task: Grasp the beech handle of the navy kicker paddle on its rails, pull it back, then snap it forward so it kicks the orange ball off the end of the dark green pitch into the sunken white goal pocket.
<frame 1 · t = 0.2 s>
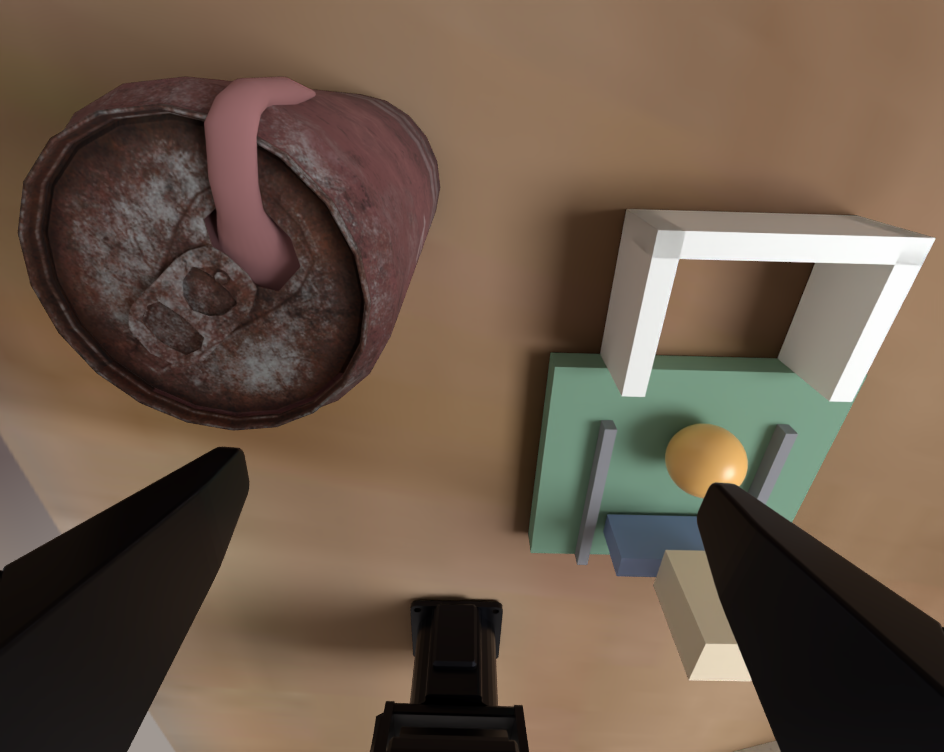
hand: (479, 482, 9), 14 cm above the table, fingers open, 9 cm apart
kicker: (692, 583, 24), point 6 cm above the table, slide at 2.0 cm
ball: (704, 460, 23), point 3 cm above the table, touching pitch
can: (369, 175, 20), on the table
pitch: (668, 456, 27), on the table
goal: (718, 289, 22), on the table
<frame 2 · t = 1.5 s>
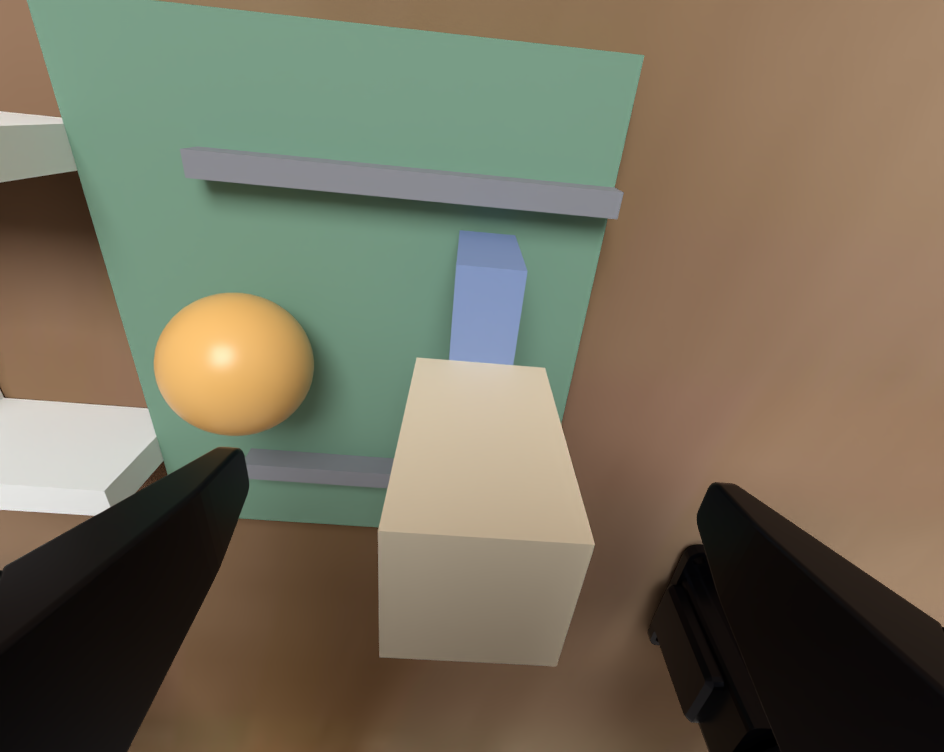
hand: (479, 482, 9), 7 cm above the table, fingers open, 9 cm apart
kicker: (475, 439, 10), point 6 cm above the table, slide at 2.0 cm
ball: (239, 364, 12), point 3 cm above the table, touching pitch
pitch: (364, 321, 15), on the table
goal: (37, 294, 14), on the table
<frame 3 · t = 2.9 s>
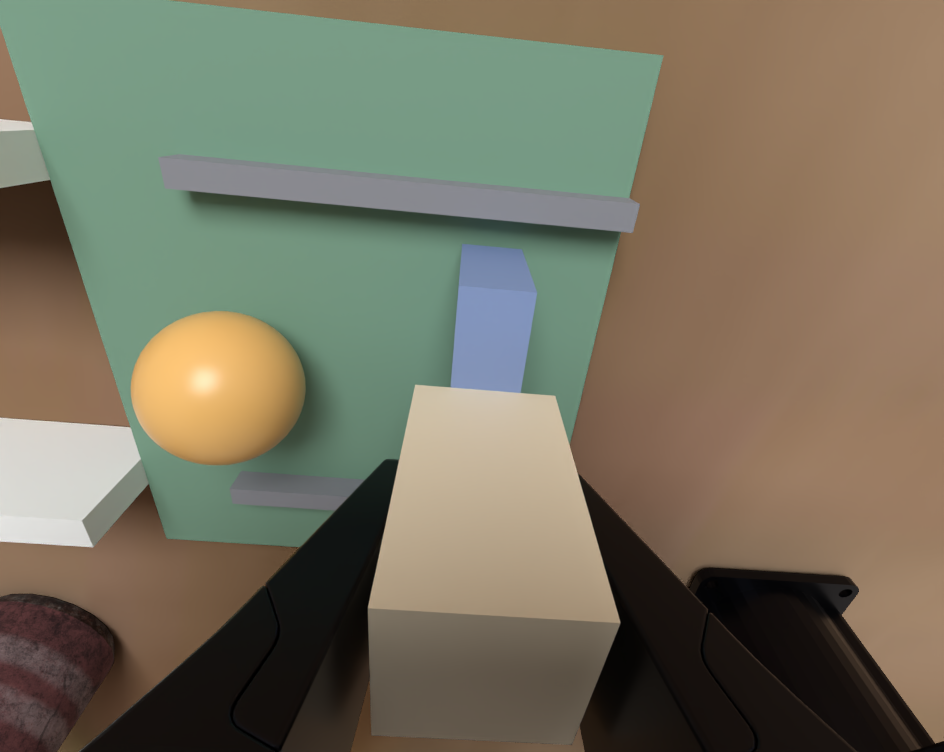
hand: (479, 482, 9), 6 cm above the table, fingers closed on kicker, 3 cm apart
kicker: (479, 474, 9), point 6 cm above the table, slide at 2.0 cm, touching gripper
ball: (224, 387, 11), point 3 cm above the table, touching pitch
can: (50, 627, 21), on the table
pitch: (360, 337, 14), on the table
goal: (13, 309, 14), on the table
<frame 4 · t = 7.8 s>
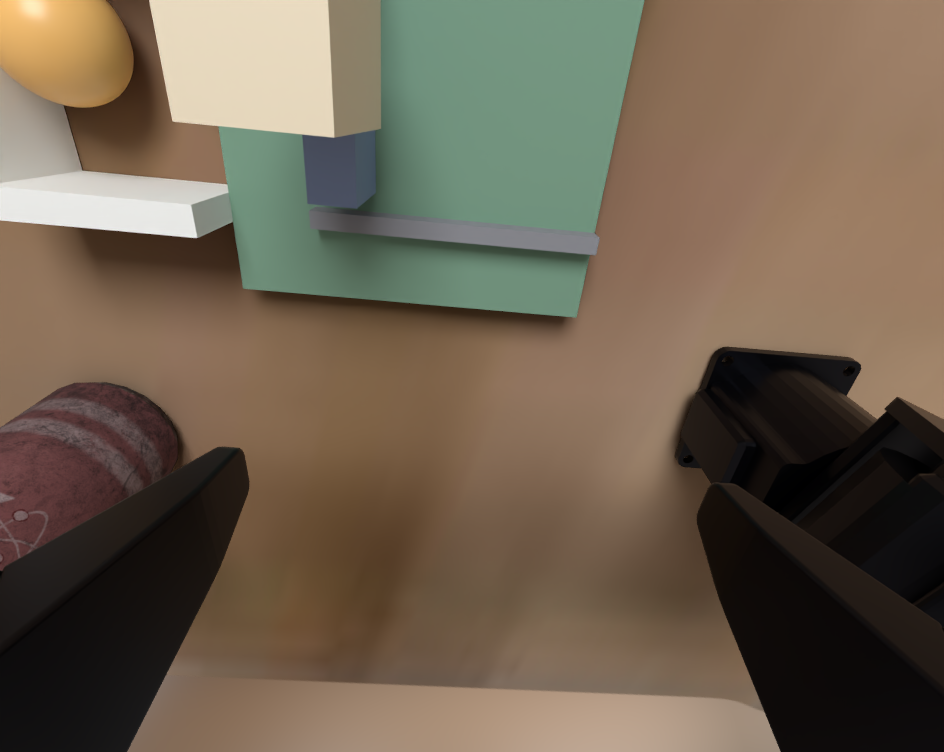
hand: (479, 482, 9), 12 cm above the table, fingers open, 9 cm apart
kicker: (313, 56, 11), point 6 cm above the table, slide at 7.5 cm
ball: (59, 38, 14), point 2 cm above the table, tilted 101°
can: (119, 426, 23), on the table
pitch: (423, 79, 16), on the table
goal: (122, 47, 16), on the table
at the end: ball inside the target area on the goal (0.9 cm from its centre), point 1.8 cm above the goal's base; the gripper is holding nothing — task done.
